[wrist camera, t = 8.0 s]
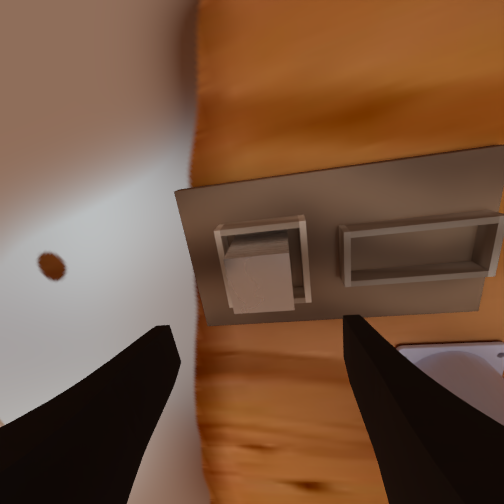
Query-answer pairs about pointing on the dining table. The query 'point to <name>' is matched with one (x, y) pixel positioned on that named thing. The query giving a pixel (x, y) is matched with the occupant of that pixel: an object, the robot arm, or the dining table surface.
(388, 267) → the socket board
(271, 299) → the square peg
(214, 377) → the dining table surface
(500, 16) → the dining table surface
